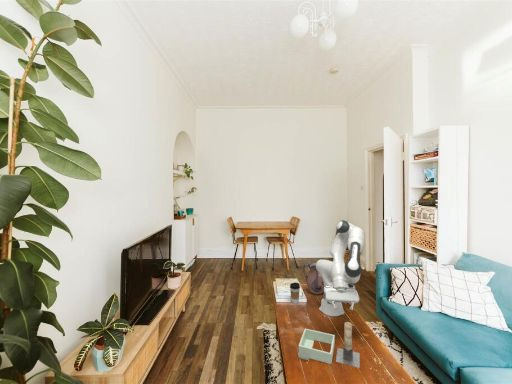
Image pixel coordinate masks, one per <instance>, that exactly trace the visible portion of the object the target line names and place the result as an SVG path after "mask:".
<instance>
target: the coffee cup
mask: <svg viewBox="0 0 512 384" xmlns="http://www.w3.org/2000/svg"><path fill="white" fill-rule="evenodd" d="M300 288H301V286H300V283H299V282H292V283H290V284H289V289H290V290H289V291H290V299H291V300H290V303H292V304H298V303H299V300H300V299H299V298H300V297H299V296H300Z"/></svg>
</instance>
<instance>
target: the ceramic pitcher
mask: <svg viewBox="0 0 512 384" xmlns="http://www.w3.org/2000/svg"><path fill="white" fill-rule="evenodd" d="M316 263H317V262H315V263H314V262H313V263H305V264H303V266H302V272H303V274H304V277H305V282H306V287H307V289H308V290H309V292H310V293H312V294H314V295H320V294H322V293H323V294H324V282H323V279H322V276H321V275H320V273H319V272H318V271H317V269H316ZM305 267H308V268H309V272H308V274H307V273H306V270H305Z"/></svg>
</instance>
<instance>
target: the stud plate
mask: <svg viewBox="0 0 512 384" xmlns="http://www.w3.org/2000/svg"><path fill="white" fill-rule="evenodd" d="M360 356H361V355H360V352H358V351H357V352H356V351H353V361H349V360H345V359H343V348H341V347H340V348H339V347H337V352H336V358H335V362H337V363H340V364H344V365H348V366H351V367H354V368H359V369H360V366H361V365H360V364H361V363H360V362H361V361H360V360H361V359H360Z"/></svg>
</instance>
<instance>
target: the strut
mask: <svg viewBox="0 0 512 384" xmlns="http://www.w3.org/2000/svg"><path fill="white" fill-rule="evenodd" d="M343 328H344V329H343V331H344V333H343V335H344V336H343V337H344V340H343V342H344V343H343V346H342V347H343V348H342V349H343V359H345V360H349V361H353V352H354V347H353V324H352V323H351V322H349V321H346V322H344V327H343Z"/></svg>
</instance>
